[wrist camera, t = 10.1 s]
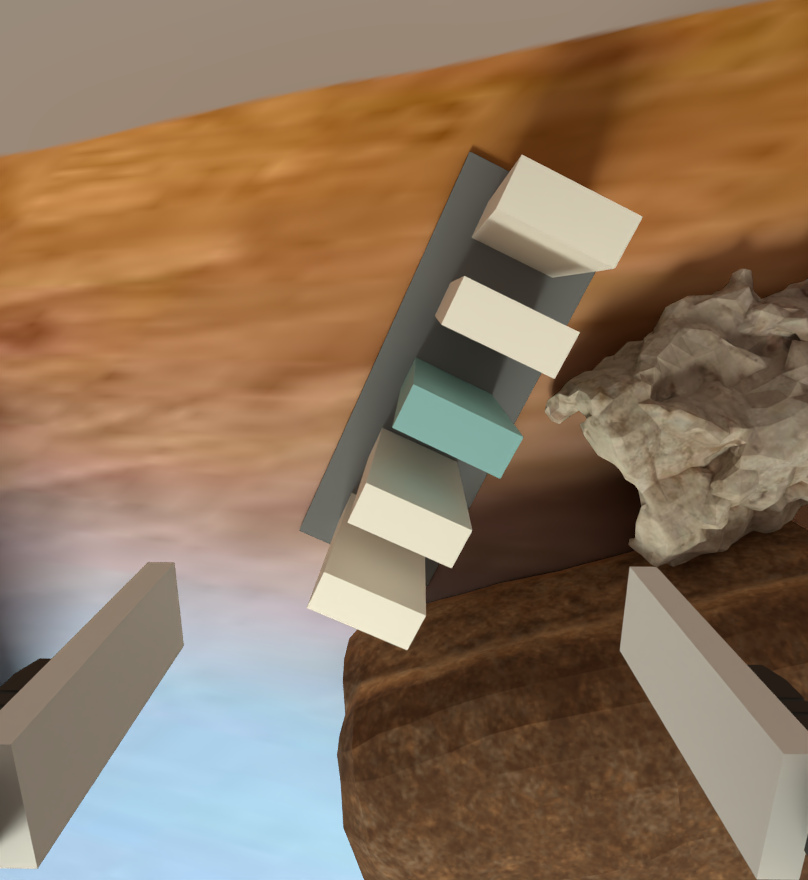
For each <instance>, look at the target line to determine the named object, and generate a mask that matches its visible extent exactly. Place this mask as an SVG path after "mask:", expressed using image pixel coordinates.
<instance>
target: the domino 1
mask: <svg viewBox="0 0 808 880" xmlns="http://www.w3.org/2000/svg"><path fill="white" fill-rule="evenodd" d="M347 523H350V524H352V525H354V526H356V527H359V528H361V529H363V530H365V531H368V532H370V533H372V534H375V535H377V536H379V537H381V538H384V539H386V540H388V541H390V542H393V543H395V544H397V545H400V546H402V547H404V548H406V549H409V550H411V551H413V552H415V553H418V554H420V555H422V556H425V557H427V558H429V559H431V560H434V561H436V562H438V563H440V564H443V565H445V566H447V567H450V568H452V567H453V565H454V563H455V561H456V560H457V558H458V556H459V554H460V552H461V550H462V549H463V547H464V545H465V543H466V541H467V539H468V538H469V536H470V534H471V532H472V527H471V522H470V517H469V513H468V508H467V504H466V499H465V495H464V490H463V486H462V481H461V477H460V472H459V468H458V463H457V462H456V461H454V460H452V459H450V458H448V457H445V456H443V455H441V454H439V453H437V452H434V451H432V450H430V449H428V448H426V447H424V446H421V445H419V444H417V443H415V442H413V441H410V440H408V439H406V438H404V437H402V436H400V435H397V434H395V433H393V432H391V431H389V430H386V429H384V428H382V429H381V432H380V434H379V436H378V438H377V440H376V442H375V444H374V447H373V449H372V451H371V453H370V455H369V457H368V461H367V464H366V467H365V470H364V473H363V476H362V479H361V482H360V485H359V488H358V491H357V494H356V498H355V501H354V504H353V507H352V510H351V513H350V516H349V519H348V522H347Z"/></svg>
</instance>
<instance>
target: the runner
mask: <svg viewBox="0 0 808 880" xmlns="http://www.w3.org/2000/svg"><path fill="white" fill-rule="evenodd" d="M508 173H509V171H507V170H505V169H503V168H501V167H499V166H497V165H495V164H493V163H491V162H489V161H487V160H486V159H484V158H482V157H480V156H478V155H476V154H474V153H472V152H469V155H468V157H467V159H466V161H465V163H464V166H463V168H462V170H461V172H460V175H459V177H458V179H457V181H456V183H455V186H454V188H453V190H452V192H451V195H450V197H449V199H448V201H447V203H446V206H445V208H444V210H443V212H442V215H441V217H440V219H439V221H438V223H437V226H436V228H435V230H434V232H433V235H432V237H431V239H430V241H429V243H428V246H427V248H426V250H425V252H424V255H423V257H422V259H421V261H420V263H419V266H418V268H417V270H416V272H415V275H414V277H413V279H412V281H411V283H410V286H409V288H408V290H407V292H406V295H405V297H404V299H403V301H402V303H401V306H400V308H399V310H398V312H397V315H396V317H395V319H394V321H393V323H392V326H391V328H390V330H389V332H388V335H387V337H386V339H385V341H384V343H383V346H382V348H381V350H380V352H379V355H378V357H377V359H376V361H375V363H374V366H373V368H372V370H371V372H370V375H369V377H368V379H367V381H366V383H365V386H364V388H363V390H362V392H361V395H360V397H359V399H358V401H357V403H356V406H355V408H354V410H353V412H352V415H351V417H350V419H349V421H348V423H347V426H346V428H345V430H344V432H343V435H342V437H341V439H340V441H339V443H338V446H337V448H336V450H335V452H334V455H333V457H332V459H331V461H330V463H329V466H328V468H327V470H326V472H325V475H324V477H323V479H322V481H321V483H320V486H319V488H318V490H317V492H316V495H315V497H314V499H313V501H312V503H311V506H310V508H309V510H308V512H307V515H306V517H305V519H304V521H303V523H302V526H301V528H300V530H299V531H301V532H303V533H306V534H308V535H310V536H313V537H315V538H317V539H320V540H322V541H324V542H326V543H329V544H330V543H331V541H332V538H333V535H334V532H335V530H336V527H337V524H338V522H339V519H340V517H341V515H342V513H343V510H344V508H345V506H346V504H347V502H348V500H349V498H350V496H351V493H353V494H355V495H356V494H357V491H358V488H359V485H360V482H361V479H362V476H363V473H364V470H365V467H366V464H367V461H368V457H369V455H370V453H371V451H372V449H373V447H374V444H375V442H376V440H377V438H378V436H379V434H380V432H381V429H382V428H384V429H386V430H389V431H391V432H393V433H395V434H397V435H400V436H402V437H404V438H406V439H408V440H410V441H413V442H415V443H417V444H419V445H421V446H424V447H426V448H428V449H430V450H432V451H434V452H437V453H439V454H441V455H443V456H445V457H448V458H450V459H452V460H454V461H456V462H457V463H458V468H459V472H460V477H461V481H462V486H463V490H464V495H465V499H466V504H467V508H468V509H469V507H470V505H471V504H472V502H473V500H474V498H475V496H476V494H477V492H478V491H479V489H480V487H481V485H482V483H483V481H484V479H485V477H486V476H487V474H488V473H487V472H485V471H483V470H481V469H478V468H476V467H474V466H472V465H470V464H468V463H466V462H464V461H461V460H459V459H457V458H455V457H453V456H451V455H449V454H447V453H445V452H442V451H440V450H438V449H436V448H434V447H432V446H430V445H428V444H426V443H423V442H421V441H419V440H417V439H415V438H413V437H411V436H409V435H407V434H404V433H402V432H400V431H398V430H396V429H394V428H392V426H393V422H394V417H395V412H396V408H397V403H398V399H399V394H400V389H401V387H402V384H403V382H404V380H405V378H406V376H407V374H408V372H409V370H410V368H411V366H412V364H413V362H414V360H415V358H418V359H420V360H422V361H424V362H426V363H428V364H430V365H433V366H435V367H437V368H439V369H441V370H443V371H445V372H447V373H449V374H451V375H453V376H455V377H457V378H459V379H461V380H463V381H465V382H467V383H469V384H472V385H474V386H476V387H478V388H480V389H482V390H484V391H486V392H488V393H490V394H492V395H493V396H494V398H495V399H496V400H497V402H498V403H499V405H500V406H501V407H502V409H503V410H504V411H505V413H506V414H507V415H508V417H509V418H510V419H511V421H512V422H513V424H514V423H515V421H516V420H517V418H518V416H519V414H520V412H521V410H522V408H523V406H524V405H525V403H526V401H527V399H528V397H529V395H530V393H531V391H532V390H533V388H534V386H535V384H536V382H537V380H538V378H539V377H540V375H541V372H539V371H537V370H535V369H533V368H531V367H529V366H527V365H525V364H522V363H520V362H518V361H516V360H514V359H512V358H510V357H508V356H506V355H504V354H502V353H500V352H497V351H495V350H493V349H491V348H489V347H487V346H485V345H483V344H481V343H479V342H477V341H475V340H472V339H470V338H468V337H466V336H464V335H462V334H460V333H458V332H456V331H454V330H452V329H450V328H447V327H445V326H443V325H441V324H440V322H439V321H438V320H437V318H436V317H435V314H436V312H437V310H438V308H439V306H440V304H441V301H442V299H443V297H444V295H445V293H446V291H447V289H448V287H449V284H450V283H451V282H453V281H455V280H457V279H459V278H461V277H463V276H466V277H468V278H470V279H472V280H474V281H476V282H478V283H480V284H482V285H484V286H486V287H488V288H490V289H492V290H494V291H496V292H498V293H500V294H502V295H504V296H506V297H508V298H510V299H512V300H515V301H517V302H519V303H521V304H523V305H525V306H527V307H529V308H531V309H533V310H535V311H537V312H539V313H541V314H543V315H545V316H547V317H549V318H551V319H553V320H555V321H557V322H559V323H561V324H563V325H566V326H567V324H568V322H569V320H570V319H571V317H572V315H573V313H574V311H575V309H576V307H577V306H578V304H579V302H580V300H581V298H582V296H583V294H584V292H585V291H586V289H587V287H588V285H589V283H590V281H591V279H592V278H593V276H594V274H595V272H596V271H595V272H588V273H581V274H574V275H568V276H561V277H554V278H552V277H550V276H548V275H546V274H544V273H542V272H540V271H538V270H536V269H534V268H532V267H530V266H528V265H526V264H524V263H522V262H520V261H518V260H516V259H514V258H512V257H510V256H508V255H506V254H504V253H501V252H499V251H497V250H495V249H493V248H491V247H489V246H487V245H485V244H483V243H481V242H479V241H477V240H475V239H473V238H472V235H473V233H474V231H475V229H476V227H477V225H478V223H479V220H480V218H481V216H482V214H483V212H484V210H485V208H486V206H487V203H488V201H489V200H490V199H491V197H492V196H493V194H494V193H495V192H496V190H497V189H498V187H499V186H500V185H501V183H502V182H503V180H504V179H505V178H506V176H507V175H508ZM438 565H439V563H438V562H436V561H434V560H431V559H429V558H427V557H425V585H426V586H428V584H429V582H430V580H431V578H432V576H433V575H434V573H435V571H436V569H437V567H438Z"/></svg>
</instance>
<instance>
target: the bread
mask: <svg viewBox="0 0 808 880" xmlns="http://www.w3.org/2000/svg"><path fill="white" fill-rule="evenodd" d="M630 567H656V566H653V565H652V564H650V563H649V562H648V561H647V560H646V559H645V558H644V557H643V556H642V555H641V554H639V553H638V552H636V551H633V552H629V553H625V554H621V555H617V556H614V557H610V558H606V559H602V560H598V561H595V562H591V563H587V564H583V565H580V566H576V567H572V568H569V569H565V570H561V571H558V572H553V573H548V574H543V575H538V576H533V577H528V578H523V579H518V580H514V581H509V582H504V583H499V584H495V585H492V586H488V587H485V588H482V589H478V590H475V591H472V592H468V593H465V594H461V595H457V596H453V597H449V598H445V599H441V600H438V601H434V602H431V603H427V604H426V617H425V619H424V620H423V622H422V624H421V626H420V628H419V630H418V631H417V633H416V635H415V637H414V639H413V641H412V642H411V644H410V646H409V648H408V650H405V649H403V648H400V647H398V646H396V645H393V644H391V643H389V642H386V641H384V640H382V639H379V638H377V637H374V636H372V635H370V634H367V633H365V632H363V631H360V630H357V631H356V632H355V633H354V634H353V635H352V636H351V637H350V639H349V642H348V646H347V650H346V654H345V658H344V672H343V688H344V702H345V718H344V721H343V725H342V729H341V732H340V736H339V744H338V752H337V758H338V765H339V773H340V781H341V794H342V811H343V827H344V830H345V833H346V835H347V838H348V840H349V843H350V845H351V847H352V850H353V852H354V855H355V858H356V860H357V863H358V865H359V868H360V870H361V873H362V876H363V878H364V880H769V879H756V877H755V876H754V874H753V872H752V871H751V869H750V867H749V866H748V864H747V862H746V861H745V859H744V857H743V856H742V854H741V852H740V851H739V849H738V847H737V846H736V844H735V842H734V841H733V839H732V837H731V836H730V834H729V832H728V831H727V829H726V827H725V826H724V824H723V822H722V821H721V819H720V817H719V816H718V814H717V812H716V811H715V809H714V807H713V806H712V804H711V802H710V800H709V799H708V797H707V795H706V794H705V792H704V790H703V789H702V787H701V785H700V784H699V782H698V780H697V779H696V777H695V775H694V774H693V772H692V770H691V769H690V767H689V765H688V764H687V762H686V760H685V759H684V757H683V755H682V754H681V752H680V750H679V749H678V747H677V745H676V744H675V742H674V740H673V739H672V737H671V735H670V734H669V732H668V730H667V729H666V727H665V725H664V724H663V722H662V720H661V719H660V717H659V715H658V714H657V712H656V710H655V709H654V707H653V705H652V703H651V702H650V700H649V698H648V697H647V695H646V693H645V692H644V690H643V688H642V687H641V685H640V683H639V682H638V680H637V678H636V677H635V675H634V673H633V672H632V670H631V668H630V667H629V665H628V663H627V662H626V660H625V658H624V657H623V655H622V653H621V652H620V643H621V635H622V626H623V618H624V610H625V601H626V593H627V584H628V576H629V568H630ZM657 568H658V569H659V570H660V571H661V572H662V573H663V575H664V576H665V577H666V578H667V579H668V580H669V581H670V582H671V583H672V584H673V585H674V586H675V588H676V589H677V590H678V591H679V592H680V593H681V594H682V595H683V596H684V597H685V598H686V599H687V601H688V602H689V603H690V604H691V605H692V606H693V607H694V608H695V609H696V610H697V611H698V612H699V614H700V615H701V616H702V617H703V618H704V619H705V620H706V621H707V622H708V623H709V624H710V625H711V627H712V628H713V629H714V630H715V631H716V632H717V633H718V634H719V635H720V636H721V637H722V638H723V640H724V641H725V642H726V643H727V644H728V645H729V646H730V647H731V648H732V649H733V650H734V651H735V653H736V654H737V655H738V656H739V657H740V658H741V659H742V660H743V661H744V662H745V663H746V664H747V665H763V666H765V667H767V668H768V669H770V670H771V671H773V672H774V673H776V674H778V675H779V676H781V677H782V678H784V679H785V680H787V681H788V682H789V683H790V684H791V685H792V686H793V687H794V688H795V689H796V690H797V691H798V692H799V693H800V694H801V695H802V696H803V697H804V701H808V530H806V529H804V528H803V527H801V526H799V525H798V524H796V523H794V522H793V521H789V522H788V523H786V524H784V525H783V527H782V528H781V529H779V530H777V531H775V532H771V533H761V532H757V531H752V532H750V533H748V534H746V535H744V536H743V537H741V538H740V539H739V540H738V541H736V542H735V543H733V544H732V545H731V546H730V547H729V548H728V549H727V550H726V551H723V552H716V553H708V554H701V555H699V556H697V557H695V558H693V559H691V560H689V561H687V562H685V563H682V564H680V565H677V566H674V567H673V566H670V565H669V564H664V565H661V566H658V567H657ZM799 880H808V856H807V854H805V858H804V862H803V866H802V870H801V875H800V879H799Z"/></svg>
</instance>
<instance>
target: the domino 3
mask: <svg viewBox="0 0 808 880" xmlns="http://www.w3.org/2000/svg"><path fill="white" fill-rule="evenodd" d="M641 219H642V216H640V215H638V214H636V213H634V212H632V211H630V210H629V209H627V208H625V207H623V206H621V205H619V204H617V203H615V202H613V201H611V200H609V199H607V198H605V197H603V196H601V195H599V194H597V193H596V192H594V191H592V190H590V189H588V188H586V187H584V186H582V185H580V184H578V183H576V182H574V181H572V180H570V179H568V178H566V177H564V176H563V175H561V174H559V173H557V172H555V171H553V170H551V169H549V168H547V167H545V166H543V165H541V164H539V163H537V162H535V161H533V160H532V159H530V158H528V157H526V156H524V155H521V156H520V158H519V159H518V161H517V162H516V163H515V165H514V166H513V168H512V169H511V170H510V172H509V173H508V175H507V176H506V178H505V179H504V180H503V182H502V183H501V185H500V186H499V187H498V189H497V190H496V192H495V193H494V194H493V196H492V197H491V199H490V200H489V201H488V203H487V206H486V208H485V210H484V212H483V214H482V216H481V218H480V220H479V223H478V225H477V227H476V229H475V231H474V233H473V235H472V238H473V239H475V240H477V241H479V242H481V243H483V244H485V245H487V246H489V247H491V248H493V249H495V250H497V251H499V252H501V253H504V254H506V255H508V256H510V257H512V258H514V259H516V260H518V261H520V262H522V263H524V264H526V265H528V266H530V267H532V268H534V269H536V270H538V271H540V272H542V273H544V274H546V275H548V276H550V277H552V278H554V277H561V276H568V275H574V274H581V273H588V272H595V271H602V270H609V269H615V267H616V265H617V263H618V262H619V260H620V258H621V256H622V254H623V252H624V251H625V249H626V247H627V245H628V243H629V241H630V239H631V238H632V236H633V234H634V232H635V230H636V228H637V227H638V225H639V223H640V221H641Z"/></svg>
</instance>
